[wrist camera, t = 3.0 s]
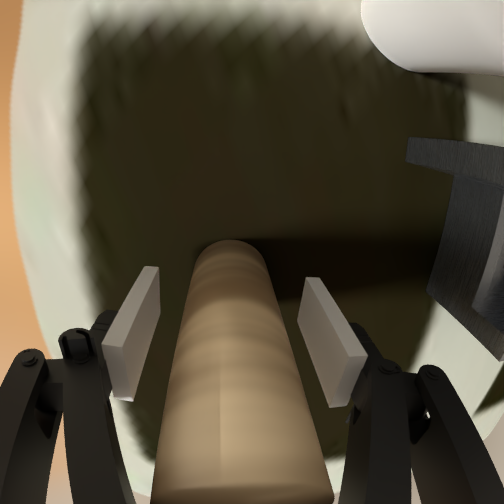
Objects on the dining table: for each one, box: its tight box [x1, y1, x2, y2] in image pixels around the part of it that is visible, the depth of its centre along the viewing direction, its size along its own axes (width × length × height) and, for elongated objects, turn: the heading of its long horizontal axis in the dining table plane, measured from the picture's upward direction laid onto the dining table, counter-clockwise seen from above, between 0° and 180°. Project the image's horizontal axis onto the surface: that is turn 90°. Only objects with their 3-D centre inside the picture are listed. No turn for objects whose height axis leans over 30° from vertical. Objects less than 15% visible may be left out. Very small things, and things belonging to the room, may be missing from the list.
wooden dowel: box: [150, 240, 334, 504], centre depth 12 cm, size 4×4×14 cm
